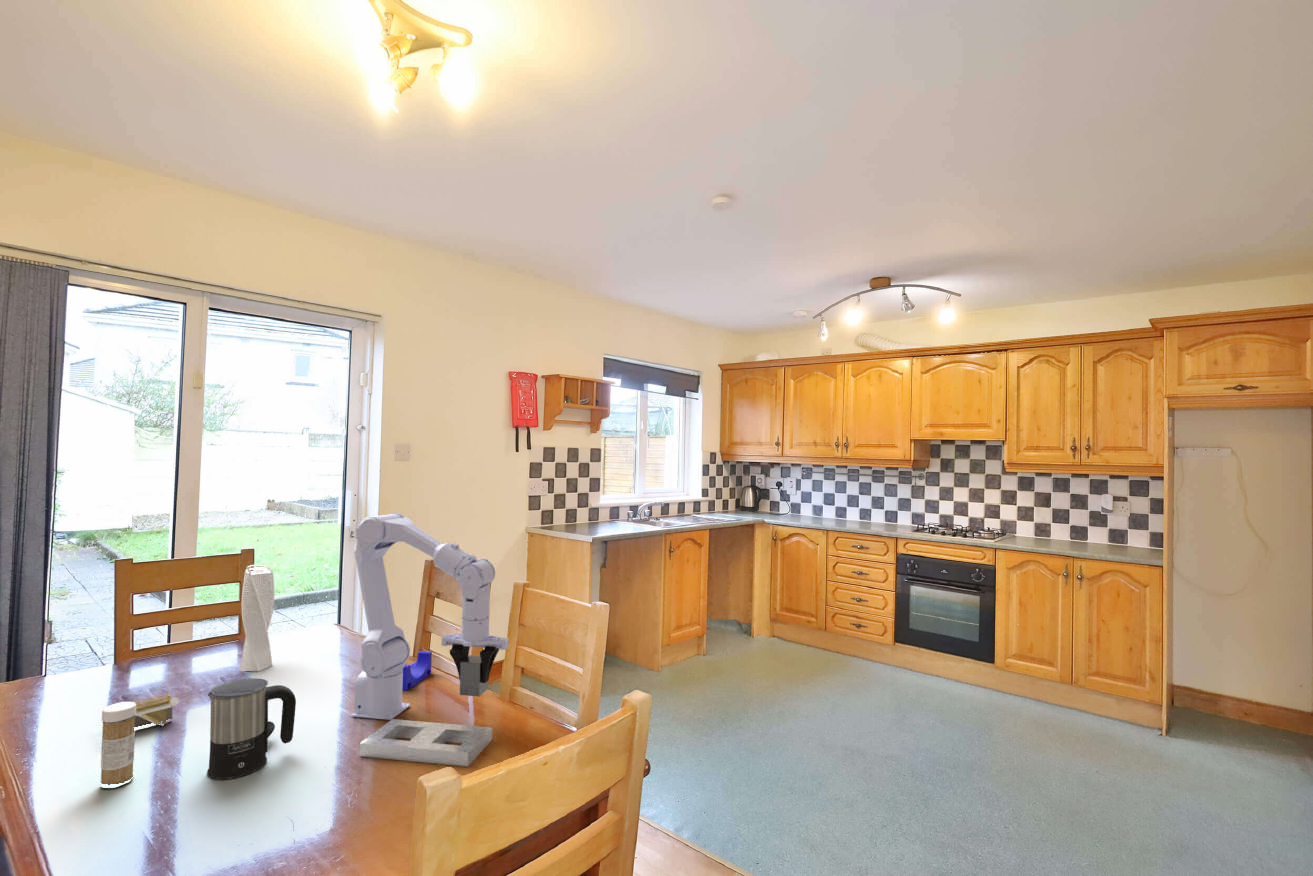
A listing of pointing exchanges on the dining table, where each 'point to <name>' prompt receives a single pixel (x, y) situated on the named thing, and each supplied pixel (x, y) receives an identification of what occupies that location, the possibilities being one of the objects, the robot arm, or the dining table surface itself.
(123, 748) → the sprinkles bottle
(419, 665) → the cable clip
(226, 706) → the milk frother
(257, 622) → the skyscraper
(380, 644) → the robot arm
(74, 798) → the dining table surface
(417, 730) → the grey flat slab
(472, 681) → the upright grey block
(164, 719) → the platform
